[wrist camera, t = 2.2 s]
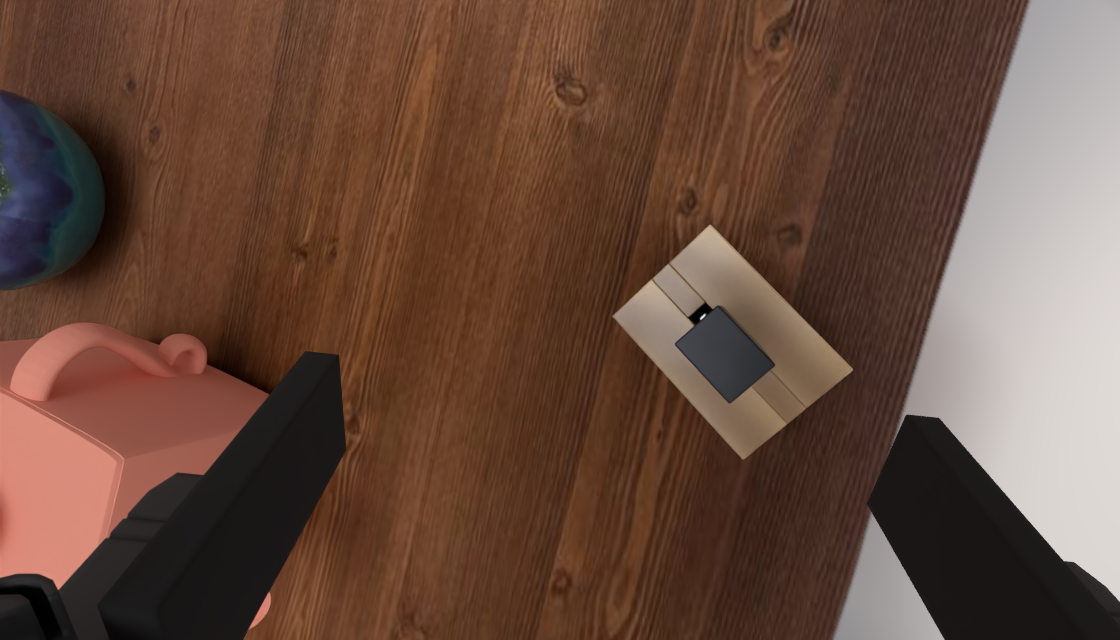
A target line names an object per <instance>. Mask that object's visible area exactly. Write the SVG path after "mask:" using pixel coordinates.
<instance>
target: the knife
mask: <svg viewBox="0 0 1120 640" xmlns="http://www.w3.org/2000/svg"><path fill="white" fill-rule="evenodd" d="M675 346H676V347H677V348H678V349H679V350H680V351H681V352H682V353H683V355H684V356H685V357H686V358H687V359H688V360H689V361H690V362H691V363H692V364H693V365H694V366H695V368H696V369H697V370H698V371H699V372H700V373H701V374H702V375H703V376H704V377H705V378H706V379H707V381H708V382H709V383H710V384H711V385H712V386H713V387H714V388H715V389H716V390H717V391H718V392H719V394H720V395H721V396H722V397H723V398H724V399H725V400H726V401H727V402H728V403H729V404H730V403H732V402H733V401H734V400H736V399H737V398H738V397H739V396H740V395H741V394H743V393H744V392H745V391H746V390H747V389H749V388H750V387H751V386H752V385H753V384H754V383H756V382H757V381H758V380H759V379H760V378H762V377H763V376H764V375H765V374H766V373H767V372H769V371H770V370H771V369H772V368H773V367H775V363H774V362H773V361H772V359H771V358H770V357H769V355H768V354H767V353H766V351H765V350H764V349H763V347H762V346H761V345H760V344H759V343H758V342H757V341H756V340H755V339H754V338H753V337H752V336H751V335H750V334H749V333H748V332H747V331H746V330H745V329H744V328H743V327H742V326H741V324H740V323H739V322H738V321H737V320H736V319H735V318H734V317H733V316H732V315H731V314H730V313H729V312H728V311H727V310H726V309H725V308H724V307H723V306H720V305H717V306H716V307H715V308H714V309H712V310H711V311H710V312H709V313H705V314H704V315H702V316H701V317H700V321H699V322H698V323H697V324H696V325H695V326H694V327H692V328H691V329H690V330H689V331H688V332H687V333H686V334H685V335H683V336H682V337H681V338H680V339H679V340H678V341H677V342H676V343H675Z"/></svg>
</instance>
